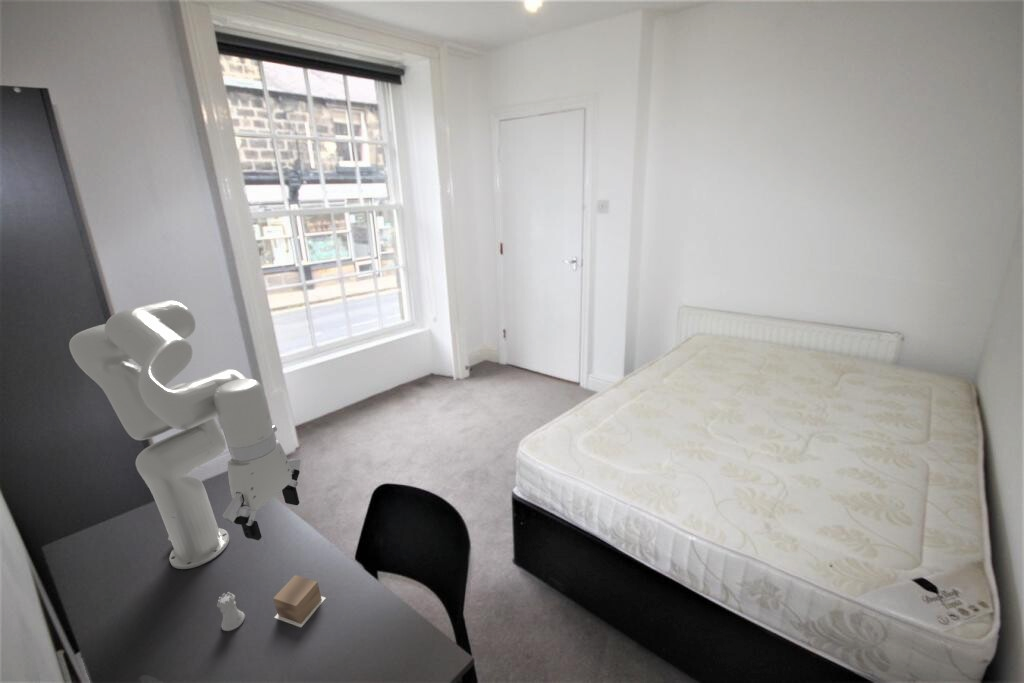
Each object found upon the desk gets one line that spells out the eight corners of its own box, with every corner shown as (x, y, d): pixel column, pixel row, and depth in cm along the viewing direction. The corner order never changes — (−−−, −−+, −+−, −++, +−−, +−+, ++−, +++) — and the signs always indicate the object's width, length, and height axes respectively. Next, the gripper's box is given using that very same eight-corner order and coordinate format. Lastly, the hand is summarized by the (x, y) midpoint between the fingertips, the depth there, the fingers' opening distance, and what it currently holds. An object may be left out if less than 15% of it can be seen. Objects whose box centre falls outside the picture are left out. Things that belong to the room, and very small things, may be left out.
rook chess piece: (236, 637, 91) (225, 608, 89) (217, 634, 92) (206, 605, 90) (252, 617, 96) (242, 589, 93) (234, 614, 96) (224, 586, 94)
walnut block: (278, 615, 94) (273, 598, 93) (299, 592, 100) (295, 574, 98) (301, 623, 92) (296, 606, 91) (321, 599, 98) (317, 581, 96)
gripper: (273, 419, 91) (291, 488, 97) (194, 470, 76) (221, 548, 82) (303, 423, 89) (320, 494, 95) (227, 477, 74) (253, 557, 80)
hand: (274, 519), depth 89 cm, fingers open, 9 cm apart
